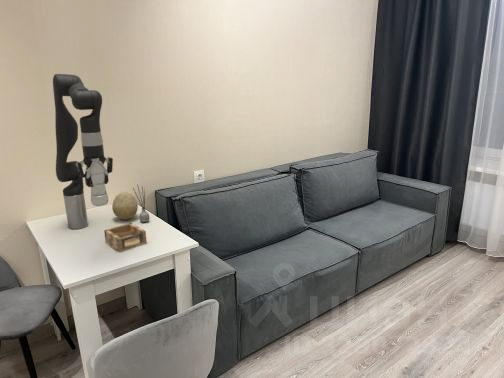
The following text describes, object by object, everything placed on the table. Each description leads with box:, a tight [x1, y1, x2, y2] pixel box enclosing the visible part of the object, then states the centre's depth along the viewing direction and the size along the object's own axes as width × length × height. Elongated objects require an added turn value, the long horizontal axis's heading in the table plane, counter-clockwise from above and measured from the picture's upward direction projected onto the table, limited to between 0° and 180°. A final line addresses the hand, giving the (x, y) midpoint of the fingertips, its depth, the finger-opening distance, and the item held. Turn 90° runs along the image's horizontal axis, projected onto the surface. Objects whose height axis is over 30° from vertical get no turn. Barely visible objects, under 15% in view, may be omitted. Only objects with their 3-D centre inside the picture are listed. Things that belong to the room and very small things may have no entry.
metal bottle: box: [87, 157, 109, 207], centre depth 150 cm, size 6×7×20 cm
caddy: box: [103, 222, 148, 253], centre depth 170 cm, size 14×13×6 cm
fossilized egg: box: [111, 191, 139, 221], centre depth 198 cm, size 13×13×15 cm
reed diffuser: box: [132, 184, 150, 223], centre depth 193 cm, size 10×7×20 cm
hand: (97, 185), depth 150 cm, fingers closed on metal bottle, 6 cm apart
